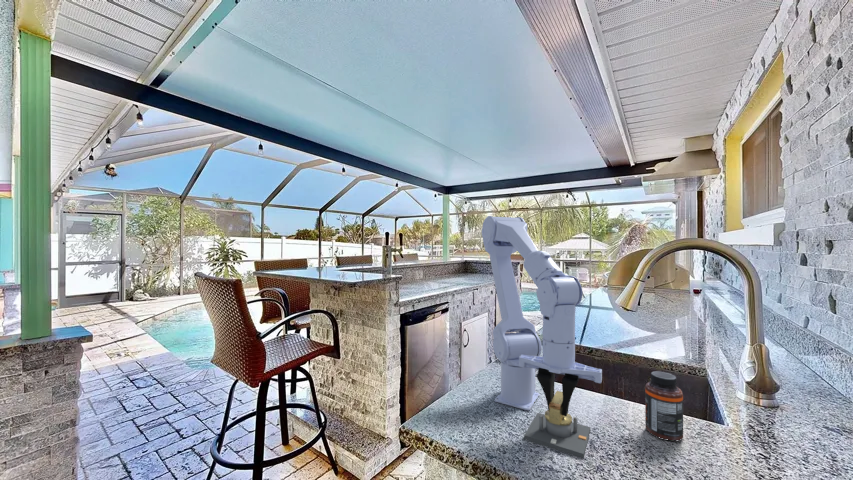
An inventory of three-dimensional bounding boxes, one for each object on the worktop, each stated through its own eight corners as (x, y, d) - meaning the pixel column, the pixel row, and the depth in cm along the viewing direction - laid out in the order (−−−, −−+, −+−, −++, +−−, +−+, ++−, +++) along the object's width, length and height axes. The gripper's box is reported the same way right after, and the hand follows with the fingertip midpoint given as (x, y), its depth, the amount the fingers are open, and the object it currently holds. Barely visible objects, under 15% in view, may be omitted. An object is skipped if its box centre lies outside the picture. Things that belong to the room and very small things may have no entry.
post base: (537, 416, 69) (537, 400, 69) (590, 431, 64) (590, 413, 64) (524, 439, 61) (524, 420, 61) (583, 458, 56) (583, 438, 56)
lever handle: (549, 407, 67) (549, 388, 67) (574, 414, 64) (574, 394, 64) (540, 423, 61) (540, 402, 61) (568, 431, 58) (568, 409, 58)
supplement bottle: (647, 422, 68) (647, 366, 68) (683, 433, 64) (683, 374, 64) (643, 434, 63) (643, 375, 63) (682, 447, 59) (682, 383, 60)
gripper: (514, 338, 63) (513, 409, 63) (599, 351, 56) (599, 433, 55) (524, 330, 69) (524, 396, 69) (602, 342, 62) (602, 415, 61)
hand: (558, 411), depth 63 cm, fingers closed on lever handle, 2 cm apart
